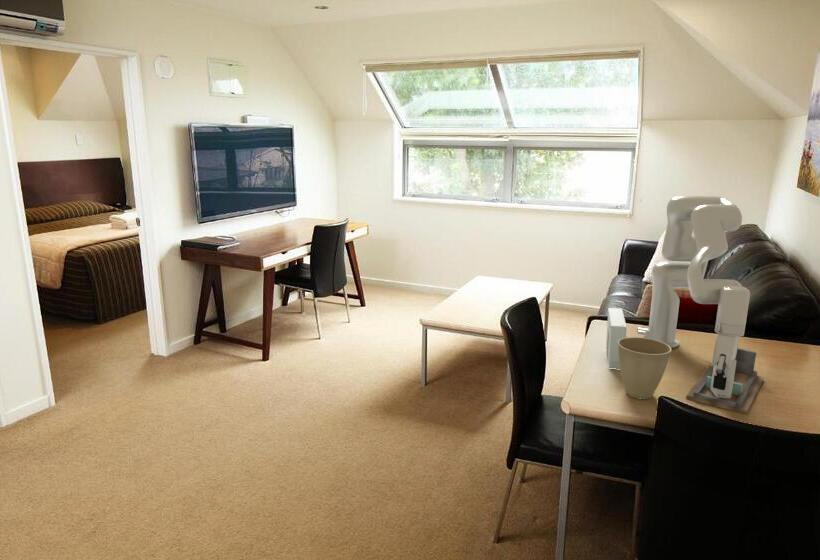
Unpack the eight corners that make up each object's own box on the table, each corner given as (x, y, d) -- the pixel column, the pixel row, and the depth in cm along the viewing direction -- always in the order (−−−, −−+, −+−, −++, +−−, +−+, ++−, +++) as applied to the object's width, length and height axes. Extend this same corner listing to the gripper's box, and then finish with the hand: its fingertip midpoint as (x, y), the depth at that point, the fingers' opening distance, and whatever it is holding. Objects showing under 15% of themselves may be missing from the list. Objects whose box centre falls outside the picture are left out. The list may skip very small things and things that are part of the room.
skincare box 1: (604, 348, 214) (608, 307, 210) (619, 349, 212) (623, 308, 209) (607, 369, 194) (611, 325, 190) (624, 371, 193) (628, 326, 189)
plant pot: (671, 407, 167) (677, 356, 163) (617, 403, 170) (622, 352, 166) (658, 385, 181) (664, 338, 178) (609, 382, 184) (614, 335, 180)
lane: (686, 398, 173) (689, 370, 171) (708, 367, 196) (712, 342, 193) (746, 414, 163) (751, 384, 161) (763, 380, 186) (767, 354, 184)
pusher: (705, 387, 177) (707, 376, 177) (706, 386, 178) (707, 375, 177) (739, 395, 172) (741, 385, 171) (740, 394, 172) (742, 383, 172)
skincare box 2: (731, 399, 169) (737, 361, 166) (715, 397, 169) (721, 359, 166) (724, 390, 174) (730, 353, 171) (709, 389, 175) (714, 352, 172)
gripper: (721, 318, 176) (714, 372, 180) (708, 332, 162) (700, 390, 167) (749, 323, 171) (741, 378, 175) (738, 338, 158) (729, 398, 162)
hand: (721, 384), depth 171 cm, fingers closed on skincare box 2, 7 cm apart
